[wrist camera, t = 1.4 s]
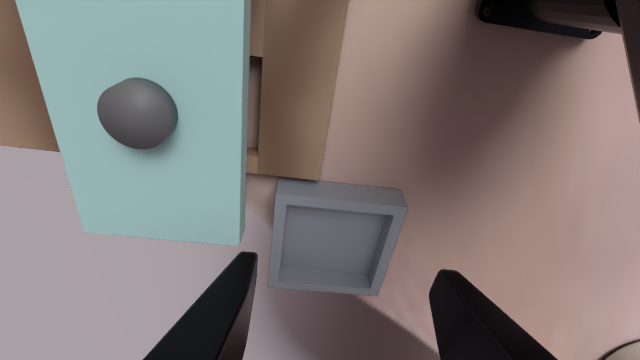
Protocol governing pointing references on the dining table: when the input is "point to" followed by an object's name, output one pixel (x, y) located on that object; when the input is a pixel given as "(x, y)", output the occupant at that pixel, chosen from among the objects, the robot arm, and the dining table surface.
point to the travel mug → (626, 352)
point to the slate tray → (333, 236)
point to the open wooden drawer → (276, 86)
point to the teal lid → (148, 111)
